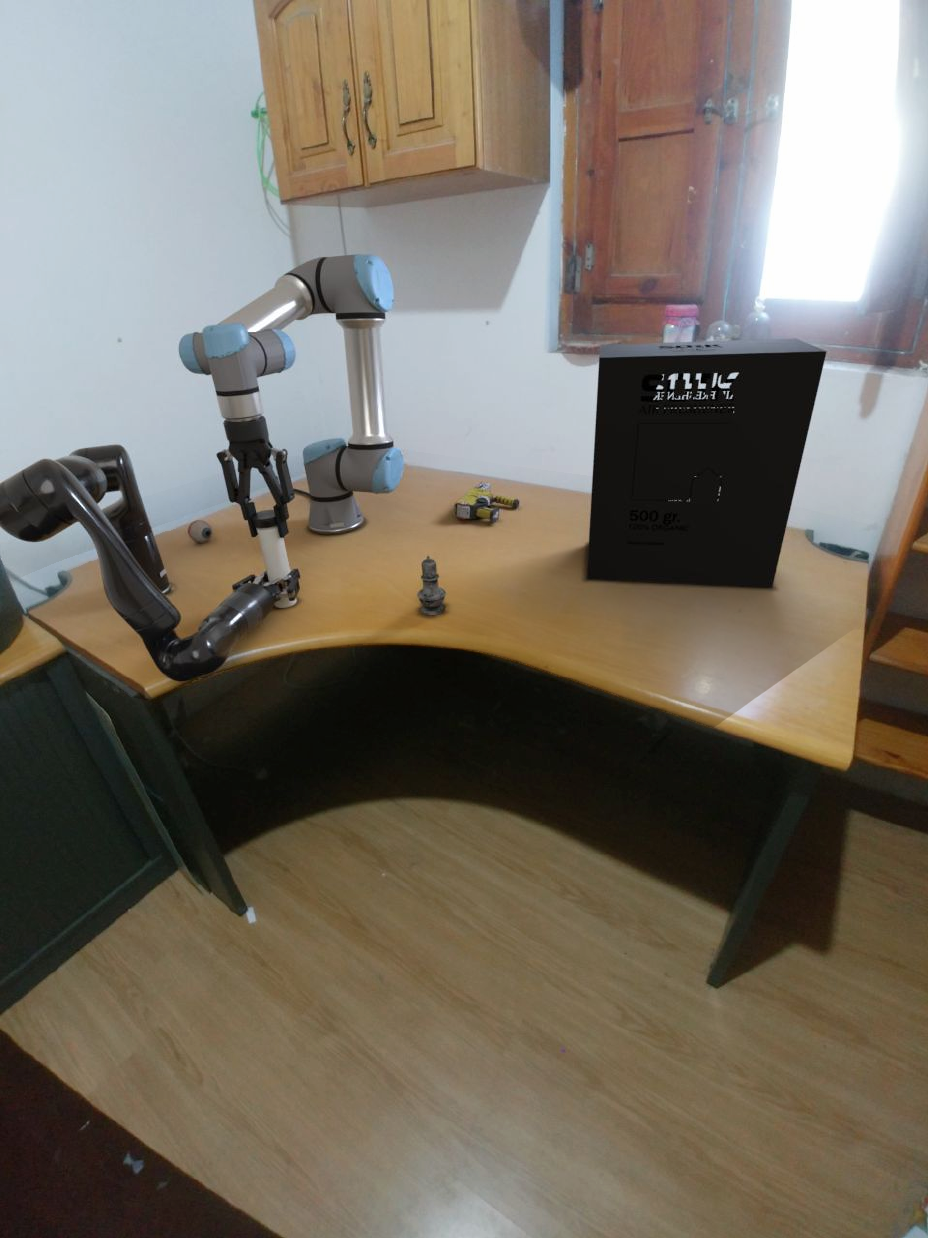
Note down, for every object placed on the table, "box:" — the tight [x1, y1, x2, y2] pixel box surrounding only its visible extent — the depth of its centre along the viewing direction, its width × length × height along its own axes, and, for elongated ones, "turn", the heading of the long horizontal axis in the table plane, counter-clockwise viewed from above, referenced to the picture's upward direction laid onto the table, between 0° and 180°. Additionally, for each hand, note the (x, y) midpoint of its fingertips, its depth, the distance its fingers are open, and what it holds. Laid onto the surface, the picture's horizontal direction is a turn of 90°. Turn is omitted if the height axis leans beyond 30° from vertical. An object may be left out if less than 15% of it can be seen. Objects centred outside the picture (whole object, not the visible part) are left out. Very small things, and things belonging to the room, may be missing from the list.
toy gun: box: [453, 481, 520, 524], centre depth 173 cm, size 5×24×15 cm
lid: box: [252, 509, 277, 528], centre depth 121 cm, size 6×6×2 cm
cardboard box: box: [586, 338, 828, 589], centre depth 126 cm, size 38×20×45 cm, turn 78°
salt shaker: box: [416, 555, 447, 616], centre depth 121 cm, size 6×6×12 cm
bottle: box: [256, 525, 298, 609], centre depth 125 cm, size 5×5×19 cm
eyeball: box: [187, 519, 213, 544], centre depth 162 cm, size 6×6×6 cm
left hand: (285, 571), depth 129 cm, fingers closed on bottle, 4 cm apart
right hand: (270, 534), depth 122 cm, fingers closed on lid, 5 cm apart
